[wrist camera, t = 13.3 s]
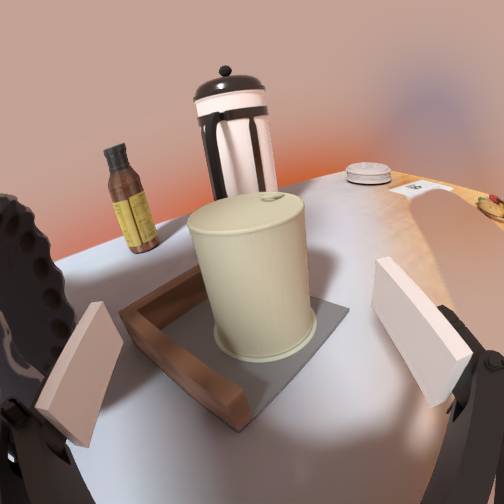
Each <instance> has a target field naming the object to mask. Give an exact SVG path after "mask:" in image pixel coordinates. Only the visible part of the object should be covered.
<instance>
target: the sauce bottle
mask: <svg viewBox="0 0 504 504" xmlns="http://www.w3.org/2000/svg"><path fill="white" fill-rule="evenodd" d="M104 156H105V157H106V159H107V162H108V166H109V171H110V178H109V182H108V189H109V192H110V195H111V198H112V203H113V206H114V209H115V212H116V215H117V218H118V221H119V223H120V226H121V229H122V232H123V235H124V237H125V240H126V243H127V245H128V247H129V249H130V251H132V252H133V253H141V252H146V251H148V250H150V249H152V248H154V247H155V246H156V245H157V244H158V243H159V238H158V235H157V230H156V227H155V224H154V221H153V218H152V215H151V212H150V209H149V206H148V202H147V199H146V196H145V192H144V189H143V188H142V185H141V182H140V177H139V175H138V174H137V173H136V172H135V171H134V170H133V169H132V167H131V166H130V165H129V162H128V158H127V154H126V146H125V143H121V144H118V145H115V146H112V147H109V148H107V149H104Z"/></svg>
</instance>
